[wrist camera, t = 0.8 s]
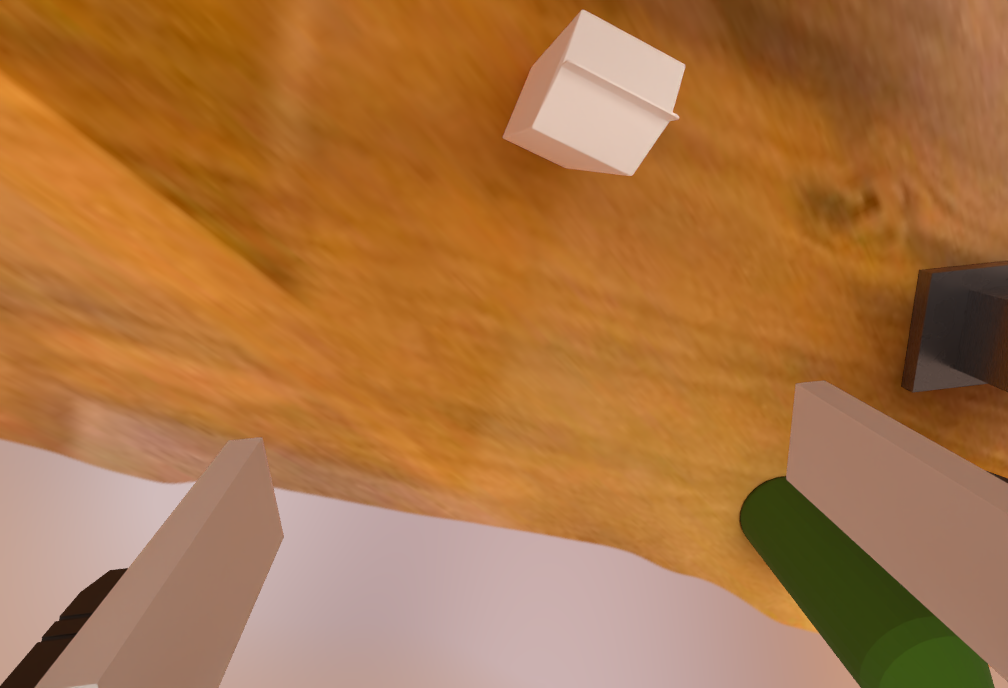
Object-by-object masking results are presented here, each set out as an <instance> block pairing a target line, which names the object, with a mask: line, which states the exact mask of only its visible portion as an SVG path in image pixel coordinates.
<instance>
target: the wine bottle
mask: <svg viewBox="0 0 1008 688" xmlns="http://www.w3.org/2000/svg"><path fill="white" fill-rule="evenodd" d="M740 522H741V526H742V530H743V533H744V534H745V536H746V537H747V539H748V540H749V541H750V543H751V544H752V545H753V547H754V548H755V549H756V551H757V552H758V553H759V555H760V556H761V557H762V558H763V560H764V561H765V562H766V564H767V565H768V566H769V568H770V569H771V570H772V572H773V573H774V574H775V576H776V577H777V578H778V579H779V581H780V582H781V583H782V585H783V586H784V587H785V589H786V590H787V591H788V593H789V594H790V595H791V597H792V598H793V599H794V600H795V602H796V603H797V604H798V606H799V607H800V608H801V610H802V611H803V612H804V614H805V615H806V616H807V618H808V619H809V620H810V621H811V623H812V624H813V625H814V627H815V628H816V629H817V631H818V632H819V633H820V635H821V636H822V637H823V639H824V640H825V641H826V642H827V644H828V645H829V646H830V647H831V649H832V650H833V652H834V653H835V654H836V656H837V657H838V658H839V659H840V661H841V662H842V663H843V665H844V666H845V667H846V669H847V670H848V671H849V672H850V674H851V675H852V676H853V678H854V679H855V680H856V682H857V683H858V684H859V686H860V687H861V688H995V687H994V684H993V680H992V677H991V673H990V670H989V666H988V663H987V662H985V661H984V660H983V659H982V658H981V657H980V656H979V655H978V654H977V653H976V652H975V651H973V650H972V649H971V648H970V647H969V646H968V645H967V644H966V643H965V642H964V641H962V640H961V639H960V638H959V637H958V636H957V635H956V634H955V633H954V632H953V631H952V630H950V629H949V628H948V627H947V626H946V625H945V624H944V623H943V622H942V621H941V620H940V619H938V618H937V617H936V616H935V615H934V614H933V613H932V612H931V611H930V610H929V609H927V608H926V607H925V606H924V605H923V604H922V603H921V602H920V601H919V600H918V599H917V598H915V597H914V596H913V595H912V594H911V593H910V592H909V591H908V590H907V589H906V588H905V587H903V586H902V585H901V584H900V583H899V582H898V581H897V580H896V579H895V578H894V577H892V576H891V575H890V574H889V573H888V572H887V571H886V570H885V569H884V568H883V567H882V566H880V565H879V564H878V563H877V562H876V561H875V560H874V559H873V558H872V557H871V556H870V555H868V554H867V553H866V552H865V551H864V550H863V549H862V548H861V547H860V546H859V545H857V544H856V543H855V542H854V541H853V540H852V539H851V538H850V537H849V536H848V535H847V534H845V533H844V532H843V531H842V530H841V529H840V528H839V527H838V526H837V525H836V524H834V523H833V522H832V521H831V520H830V519H829V518H828V517H827V516H826V515H825V514H824V513H822V512H821V511H820V510H819V509H818V508H817V507H816V506H815V505H814V504H813V503H812V502H810V501H809V500H808V499H807V498H806V497H805V496H804V495H803V494H802V493H801V492H799V491H798V490H797V489H796V488H795V487H794V486H793V485H792V484H791V483H790V482H789V481H787V480H786V477H779V478H775V479H772V480H769V481H766V482H765V483H763V484H761V485H760V486H758V487H757V488H756V489H755V490H754V491H753V492H752V493H750V494H749V496H748V497H747V499H746V500H745V502H744V504H743V507H742V510H741V516H740Z"/></svg>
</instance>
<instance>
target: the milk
mask: <svg viewBox="0 0 1008 688" xmlns="http://www.w3.org/2000/svg"><path fill="white" fill-rule="evenodd" d="M684 70H685V64H683V63H681V62H680V61H678V60H676V59H674V58H672V57H670V56H668V55H667V54H665V53H663V52H661V51H659V50H657V49H656V48H654V47H652V46H650V45H648V44H646V43H645V42H643V41H641V40H639V39H637V38H635V37H634V36H632V35H630V34H628V33H626V32H624V31H622V30H621V29H619V28H617V27H615V26H613V25H611V24H610V23H608V22H606V21H604V20H602V19H600V18H599V17H597V16H595V15H593V14H591V13H589V12H587V11H586V10H581V11H580V12H579V14H578V15H577V16H576V17H575V18H574V19H573V20H572V21H571V23H570V24H569V25H568V26H567V27H566V28H565V29H564V31H563V32H562V33H561V34H560V35H559V36H558V37H557V39H556V40H555V41H554V42H553V43H552V44H551V45H550V46H549V48H548V49H547V50H546V51H545V52H544V53H543V54H542V56H541V57H540V58H539V59H538V60H537V61H536V62H535V64H534V65H533V66H532V67H531V70H530V72H529V75H528V77H527V79H526V82H525V84H524V87H523V89H522V91H521V94H520V96H519V99H518V101H517V103H516V106H515V108H514V111H513V113H512V115H511V118H510V120H509V123H508V125H507V128H506V130H505V132H504V135H503V139H505V140H507V141H509V142H511V143H514V144H516V145H518V146H520V147H522V148H524V149H526V150H528V151H530V152H532V153H535V154H537V155H539V156H541V157H543V158H545V159H547V160H549V161H551V162H553V163H556V164H558V165H560V166H562V167H564V168H568V169H576V170H585V171H593V172H601V173H609V174H617V175H625V176H632V175H633V174H634V173H635V171H636V170H637V168H638V167H639V165H640V164H641V162H642V161H643V159H644V158H645V156H646V155H647V154H648V152H649V151H650V149H651V148H652V146H653V145H654V143H655V142H656V140H657V139H658V137H659V136H660V135H661V133H662V132H663V130H664V129H665V127H666V126H667V124H668V123H669V122H670V121H674V120H678V119H679V116H678V115H677V114H675V113H673V109H674V105H675V102H676V98H677V95H678V91H679V87H680V84H681V80H682V77H683V73H684Z"/></svg>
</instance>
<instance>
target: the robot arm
mask: <svg viewBox="0 0 1008 688" xmlns="http://www.w3.org/2000/svg"><path fill="white" fill-rule="evenodd" d="M786 480H787V481H789V482H790V483H791V484H792V485H793V486H794V487H795V488H796V489H797V490H798V491H799V492H801V493H802V494H803V495H804V496H805V497H806V498H807V499H808V500H809V501H810V502H812V503H813V504H814V505H815V506H816V507H817V508H818V509H819V510H820V511H821V512H822V513H824V514H825V515H826V516H827V517H828V518H829V519H830V520H831V521H832V522H833V523H834V524H836V525H837V526H838V527H839V528H840V529H841V530H842V531H843V532H844V533H845V534H847V535H848V536H849V537H850V538H851V539H852V540H853V541H854V542H855V543H856V544H857V545H859V546H860V547H861V548H862V549H863V550H864V551H865V552H866V553H867V554H868V555H870V556H871V557H872V558H873V559H874V560H875V561H876V562H877V563H878V564H879V565H880V566H882V567H883V568H884V569H885V570H886V571H887V572H888V573H889V574H890V575H891V576H892V577H894V578H895V579H896V580H897V581H898V582H899V583H900V584H901V585H902V586H903V587H905V588H906V589H907V590H908V591H909V592H910V593H911V594H912V595H913V596H914V597H915V598H917V599H918V600H919V601H920V602H921V603H922V604H923V605H924V606H925V607H926V608H927V609H929V610H930V611H931V612H932V613H933V614H934V615H935V616H936V617H937V618H938V619H940V620H941V621H942V622H943V623H944V624H945V625H946V626H947V627H948V628H949V629H950V630H952V631H953V632H954V633H955V634H956V635H957V636H958V637H959V638H960V639H961V640H962V641H964V642H965V643H966V644H967V645H968V646H969V647H970V648H971V649H972V650H973V651H975V652H976V653H977V654H978V655H979V656H980V657H981V658H982V659H983V660H984V661H985V662H987V663H988V664H989V665H990V666H991V667H992V668H993V669H994V670H995V671H996V672H997V673H999V674H1000V675H1001V676H1002V677H1003V678H1004V679H1005V680H1006V681H1007V682H1008V479H1007V478H1004V477H1002V476H999V475H996V474H993V473H991V472H988V471H985V470H983V469H981V468H979V467H978V466H976V465H974V464H972V463H970V462H969V461H967V460H965V459H963V458H962V457H960V456H958V455H956V454H954V453H953V452H951V451H949V450H947V449H946V448H944V447H942V446H940V445H938V444H937V443H935V442H933V441H931V440H930V439H928V438H926V437H924V436H922V435H921V434H919V433H917V432H915V431H914V430H912V429H910V428H908V427H906V426H905V425H903V424H901V423H899V422H898V421H896V420H894V419H892V418H890V417H889V416H887V415H885V414H883V413H882V412H880V411H878V410H876V409H874V408H873V407H871V406H869V405H867V404H866V403H864V402H862V401H860V400H858V399H857V398H855V397H853V396H851V395H849V394H848V393H846V392H844V391H842V390H841V389H839V388H837V387H835V386H833V385H832V384H830V383H828V382H826V381H815V382H805V383H796V387H795V397H794V407H793V417H792V426H791V436H790V446H789V456H788V465H787V475H786ZM283 537H284V535H283V531H282V526H281V521H280V517H279V513H278V508H277V503H276V498H275V494H274V489H273V484H272V480H271V475H270V470H269V466H268V461H267V456H266V452H265V447H264V442H263V438H262V437H260V438H250V439H240V440H230V441H228V442H227V443H226V445H225V446H224V447H223V449H222V450H221V451H220V452H219V454H218V455H217V456H216V457H215V459H214V460H213V461H212V463H211V464H210V465H209V466H208V468H207V469H206V470H205V471H204V473H203V474H202V475H201V477H200V478H199V479H198V480H197V482H196V483H195V484H194V485H193V487H192V488H191V489H190V491H189V492H188V493H187V495H186V496H185V497H184V498H183V499H182V501H181V502H180V503H179V505H178V506H177V507H176V508H175V510H174V511H173V512H172V513H171V515H170V516H169V517H168V519H167V520H166V521H165V522H164V524H163V525H162V526H161V528H160V529H159V530H158V531H157V533H156V534H155V535H154V536H153V538H152V539H151V540H150V541H149V543H148V544H147V545H146V547H145V548H144V549H143V550H142V552H141V553H140V554H139V555H138V557H137V558H136V559H135V561H134V562H133V563H132V564H131V566H130V567H129V568H126V569H118V570H110V571H108V572H107V573H106V574H104V575H103V576H102V577H100V578H99V579H98V580H96V581H95V582H94V583H92V584H91V585H89V586H88V587H87V588H85V589H84V590H83V591H81V592H80V593H79V594H78V596H77V597H76V598H75V599H74V600H73V601H72V603H71V604H70V605H69V606H68V607H67V608H66V610H65V611H64V612H63V613H62V614H61V615H60V619H59V621H56V622H55V623H54V624H53V625H52V626H51V627H50V628H49V630H48V631H47V632H46V633H45V634H44V635H43V637H42V641H41V642H38V643H37V644H36V645H35V646H34V647H33V648H32V650H31V651H30V652H29V653H28V654H27V655H26V656H25V658H24V659H23V660H22V661H21V662H20V664H19V665H18V666H17V667H16V668H15V669H14V671H13V672H12V673H11V674H10V675H9V676H8V678H7V679H6V680H5V681H4V682H3V684H2V685H1V686H0V688H218V687H219V685H220V683H221V681H222V678H223V676H224V674H225V671H226V669H227V667H228V664H229V662H230V660H231V657H232V654H233V653H234V650H235V648H236V646H237V643H238V641H239V639H240V637H241V634H242V632H243V630H244V627H245V625H246V623H247V620H248V618H249V616H250V613H251V611H252V609H253V606H254V604H255V602H256V600H257V597H258V595H259V593H260V591H261V588H262V586H263V583H264V581H265V579H266V577H267V574H268V572H269V570H270V567H271V565H272V563H273V561H274V558H275V556H276V554H277V551H278V549H279V547H280V544H281V542H282V540H283Z"/></svg>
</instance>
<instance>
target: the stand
mask: <svg viewBox="0 0 1008 688" xmlns="http://www.w3.org/2000/svg"><path fill="white" fill-rule="evenodd" d="M980 384H990V385H993V386H995V387H997V388H1000V389H1002V390H1004V391H1007V392H1008V261H1001V262H991V263H982V264H972V265H963V266H953V267H944V268H934V269H925V270H919V276H918V282H917V289H916V295H915V302H914V308H913V314H912V321H911V327H910V334H909V340H908V346H907V353H906V359H905V366H904V372H903V379H902V385H901V387H903V388H905V389H907V390H909V391H911V392H920V391H929V390H937V389H946V388H954V387H963V386H971V385H980Z"/></svg>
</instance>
